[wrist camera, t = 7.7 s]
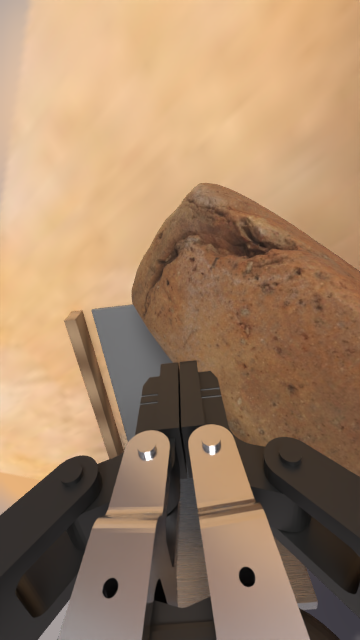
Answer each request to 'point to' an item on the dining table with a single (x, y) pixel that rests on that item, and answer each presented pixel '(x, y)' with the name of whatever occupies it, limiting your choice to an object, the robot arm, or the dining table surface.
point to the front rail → (93, 381)
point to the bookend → (194, 568)
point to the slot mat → (128, 358)
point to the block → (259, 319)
